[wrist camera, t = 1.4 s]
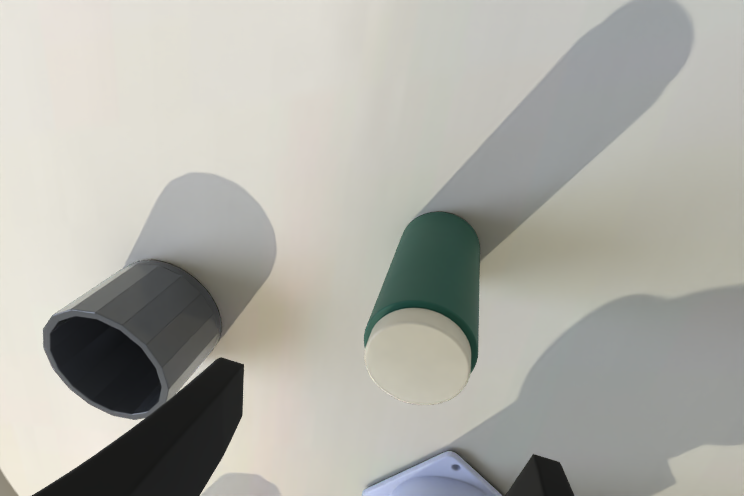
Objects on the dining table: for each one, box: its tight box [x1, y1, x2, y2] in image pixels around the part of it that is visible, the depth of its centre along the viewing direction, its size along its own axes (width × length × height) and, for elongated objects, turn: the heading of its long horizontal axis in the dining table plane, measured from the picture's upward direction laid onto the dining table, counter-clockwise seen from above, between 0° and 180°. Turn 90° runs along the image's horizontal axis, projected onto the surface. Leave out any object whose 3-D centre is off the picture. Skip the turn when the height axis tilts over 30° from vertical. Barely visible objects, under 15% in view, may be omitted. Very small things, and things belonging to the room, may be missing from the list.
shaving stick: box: [364, 212, 480, 405], centre depth 16 cm, size 4×4×8 cm
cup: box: [43, 260, 221, 420], centre depth 23 cm, size 7×7×5 cm
